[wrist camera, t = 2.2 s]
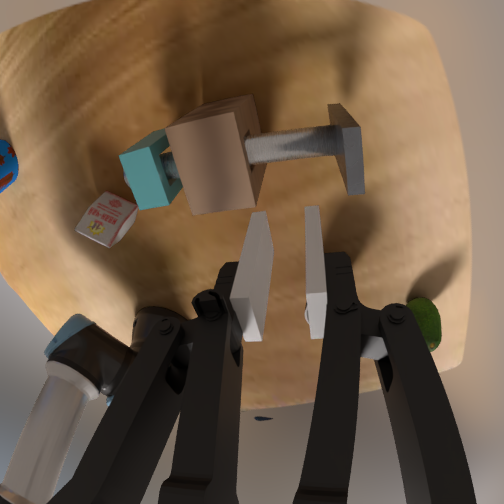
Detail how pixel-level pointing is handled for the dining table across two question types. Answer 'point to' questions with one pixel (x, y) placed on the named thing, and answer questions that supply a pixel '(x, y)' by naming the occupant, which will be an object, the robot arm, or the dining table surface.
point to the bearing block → (217, 155)
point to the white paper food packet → (107, 219)
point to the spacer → (149, 172)
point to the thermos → (7, 165)
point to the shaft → (304, 148)
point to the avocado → (427, 320)
